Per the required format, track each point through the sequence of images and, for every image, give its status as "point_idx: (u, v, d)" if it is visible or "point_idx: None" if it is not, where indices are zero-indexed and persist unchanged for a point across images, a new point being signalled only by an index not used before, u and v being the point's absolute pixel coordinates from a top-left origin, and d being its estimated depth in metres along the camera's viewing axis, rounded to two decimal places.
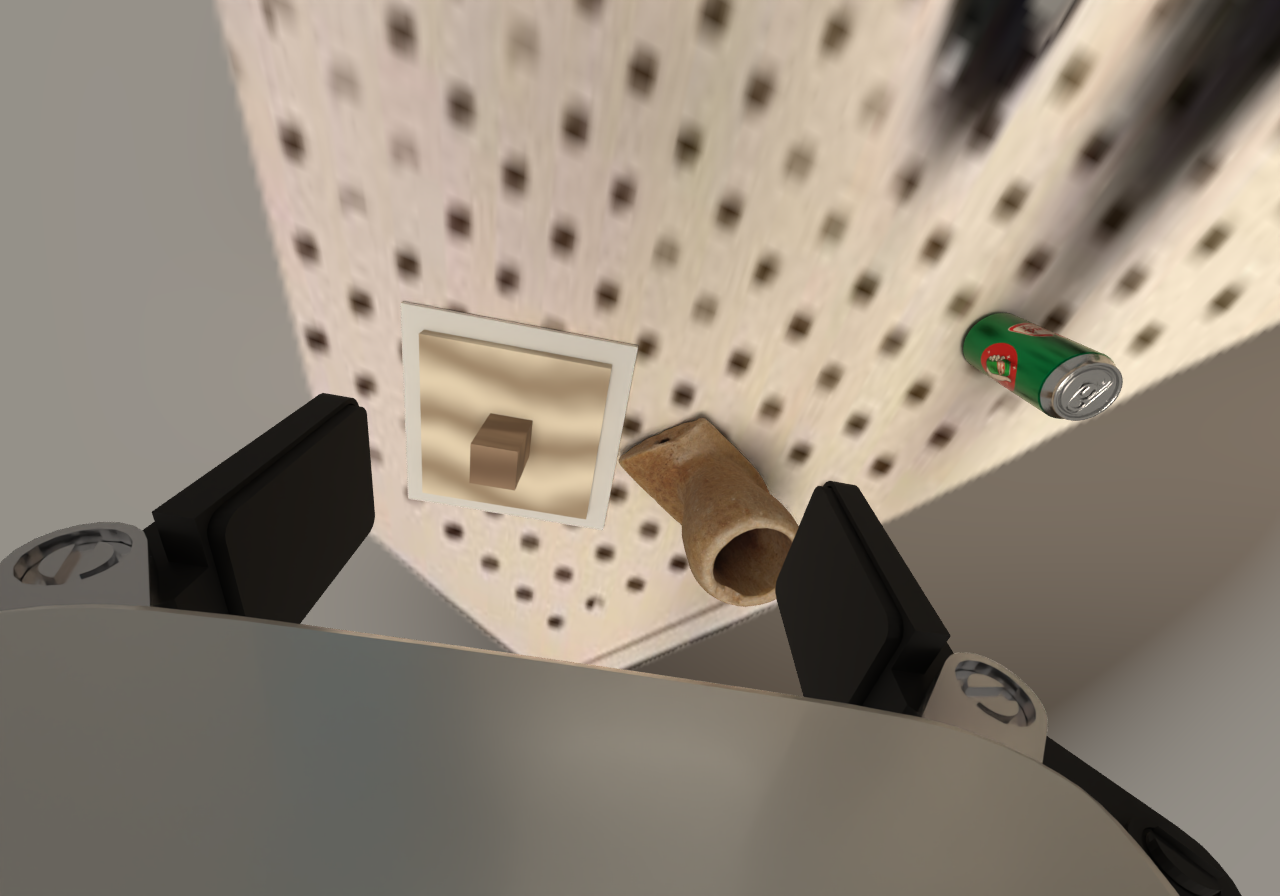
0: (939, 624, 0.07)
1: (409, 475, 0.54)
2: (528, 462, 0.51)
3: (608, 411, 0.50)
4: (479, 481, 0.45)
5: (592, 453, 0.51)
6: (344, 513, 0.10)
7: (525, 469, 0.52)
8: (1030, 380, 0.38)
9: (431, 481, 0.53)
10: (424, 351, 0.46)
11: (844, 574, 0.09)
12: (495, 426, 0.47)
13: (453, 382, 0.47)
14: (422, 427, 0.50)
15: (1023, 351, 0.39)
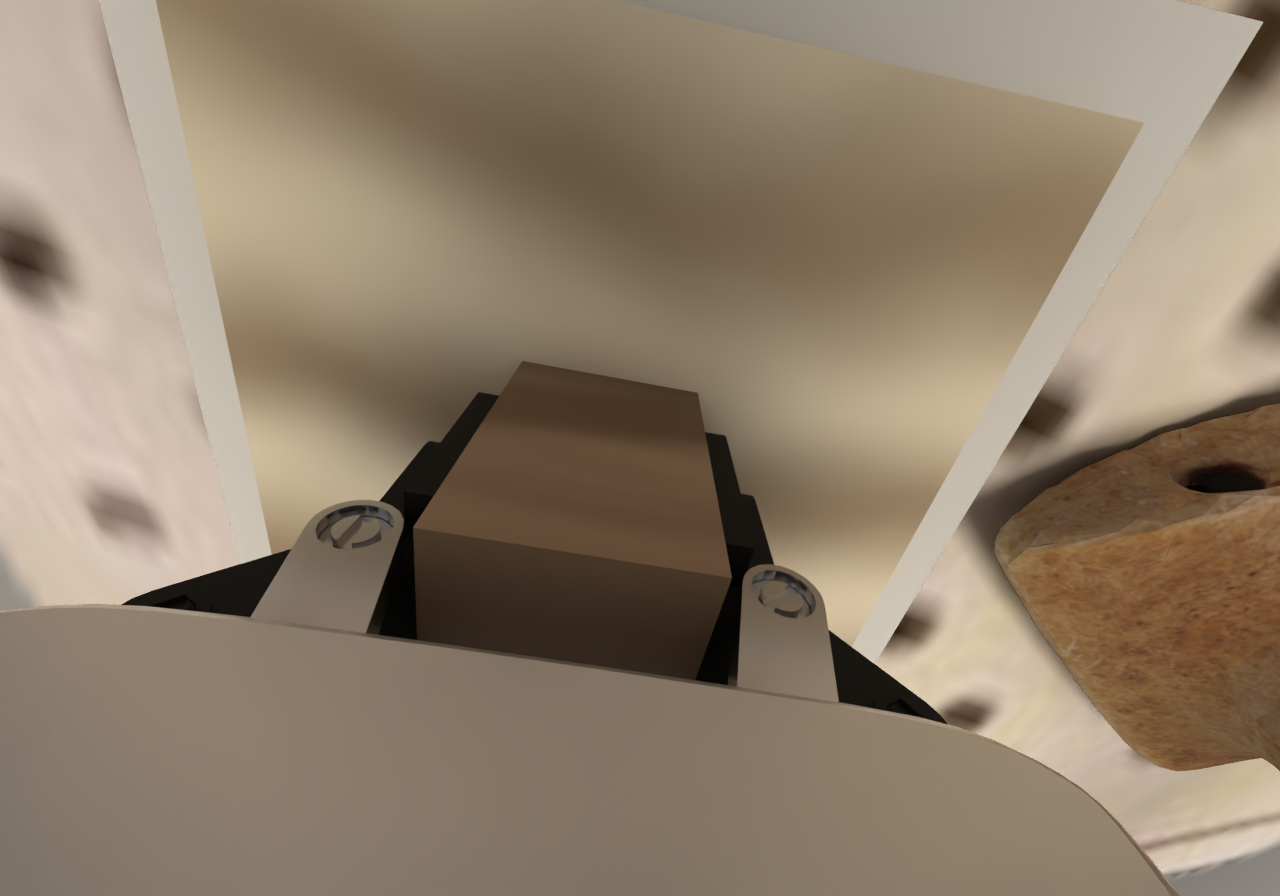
0: (749, 539, 0.08)
1: None
2: None
3: None
4: None
5: (903, 520, 0.13)
6: None
7: None
8: None
9: None
10: (186, 18, 0.09)
11: None
12: (552, 413, 0.10)
13: (355, 210, 0.10)
14: (250, 422, 0.13)
15: None
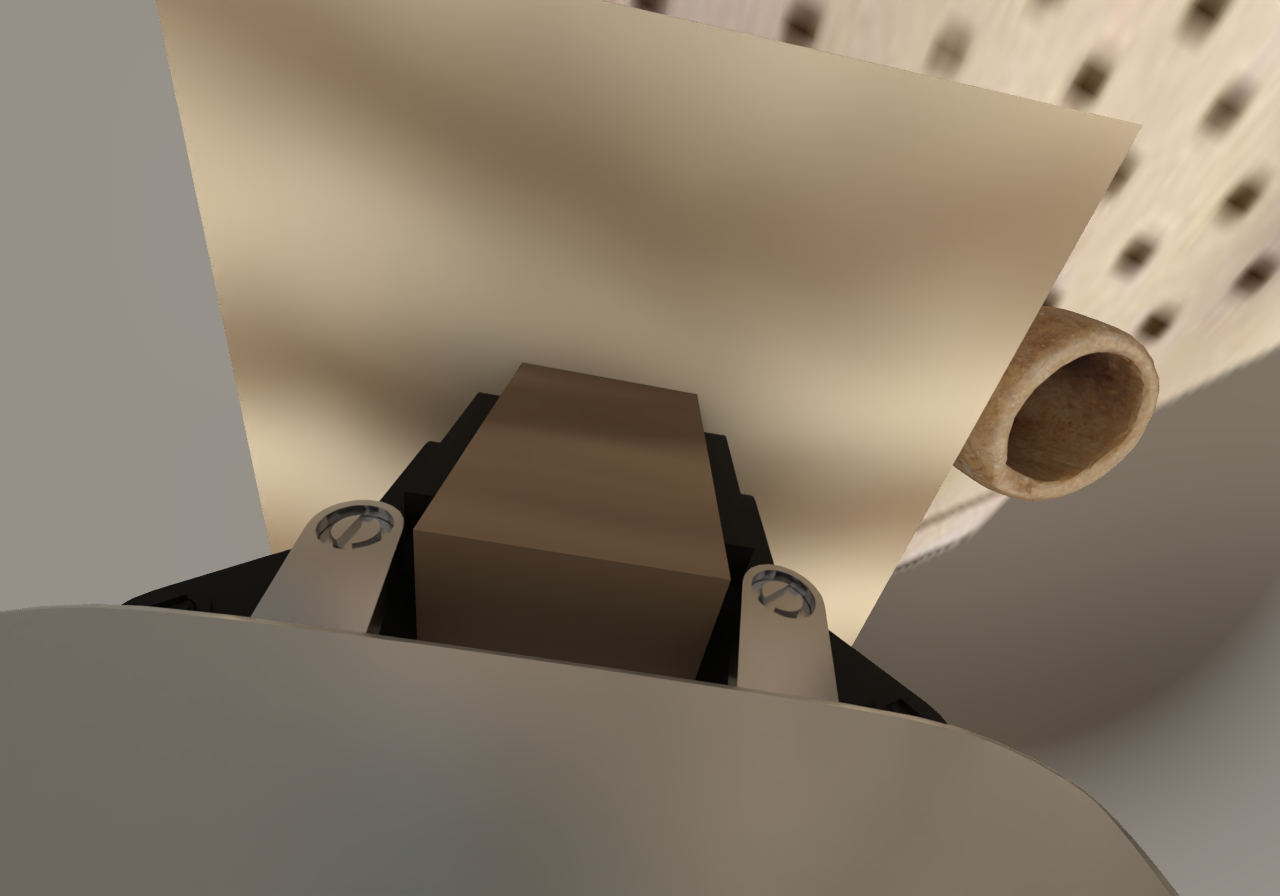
0: (749, 540, 0.08)
1: None
2: None
3: None
4: None
5: (903, 521, 0.13)
6: None
7: None
8: None
9: None
10: (187, 21, 0.09)
11: None
12: (552, 415, 0.10)
13: (355, 212, 0.10)
14: (250, 423, 0.13)
15: None
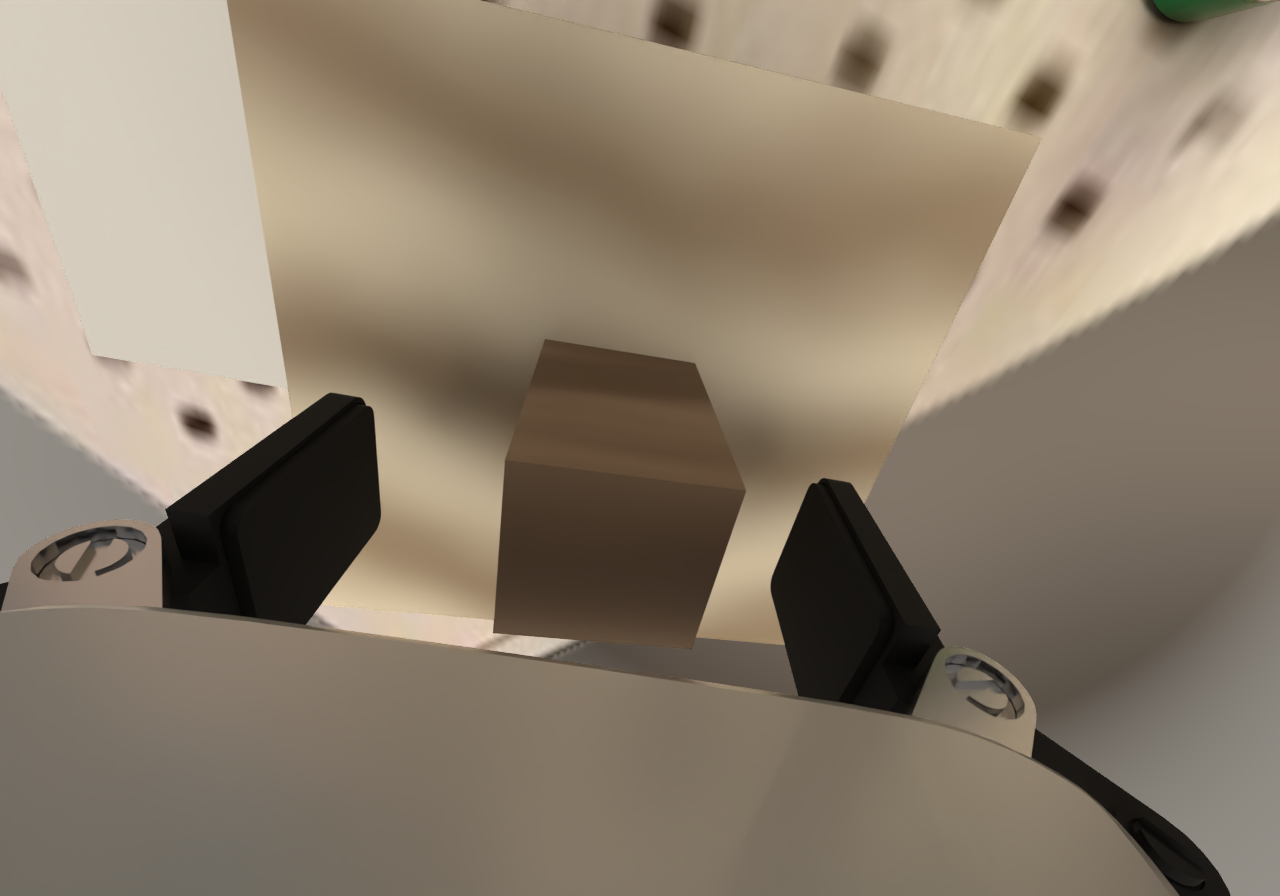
0: (929, 618, 0.07)
1: (79, 304, 0.29)
2: None
3: None
4: (540, 625, 0.10)
5: (867, 467, 0.16)
6: (352, 511, 0.10)
7: None
8: None
9: (347, 573, 0.17)
10: (258, 45, 0.10)
11: (837, 570, 0.09)
12: (582, 379, 0.12)
13: (401, 210, 0.12)
14: (295, 401, 0.14)
15: None
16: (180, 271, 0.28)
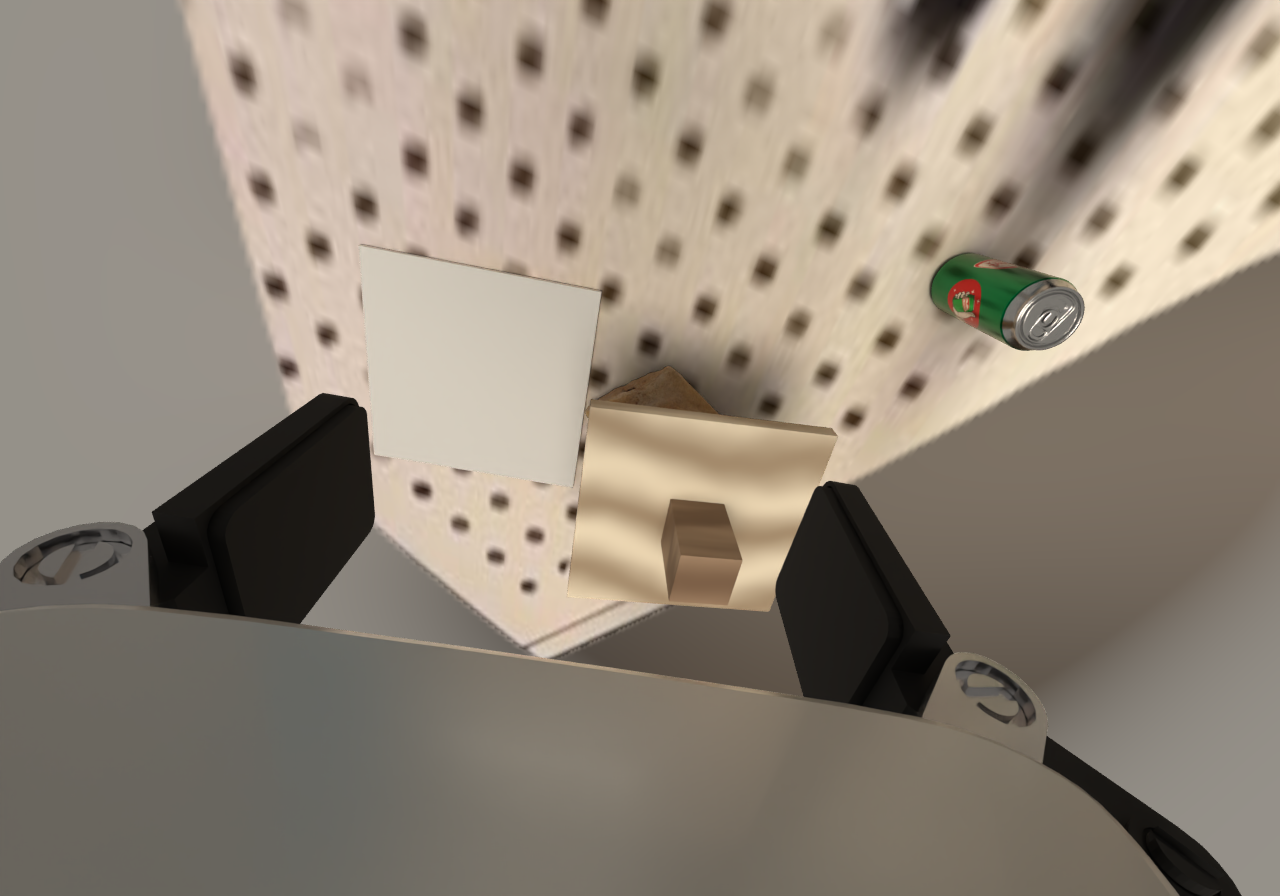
0: (939, 624, 0.07)
1: (374, 430, 0.53)
2: None
3: (573, 361, 0.49)
4: (683, 598, 0.34)
5: (792, 537, 0.40)
6: (344, 513, 0.10)
7: None
8: (993, 311, 0.37)
9: (580, 583, 0.41)
10: (594, 428, 0.34)
11: (844, 574, 0.09)
12: (689, 519, 0.36)
13: (628, 464, 0.36)
14: (578, 521, 0.38)
15: (987, 284, 0.38)
16: (435, 414, 0.52)
